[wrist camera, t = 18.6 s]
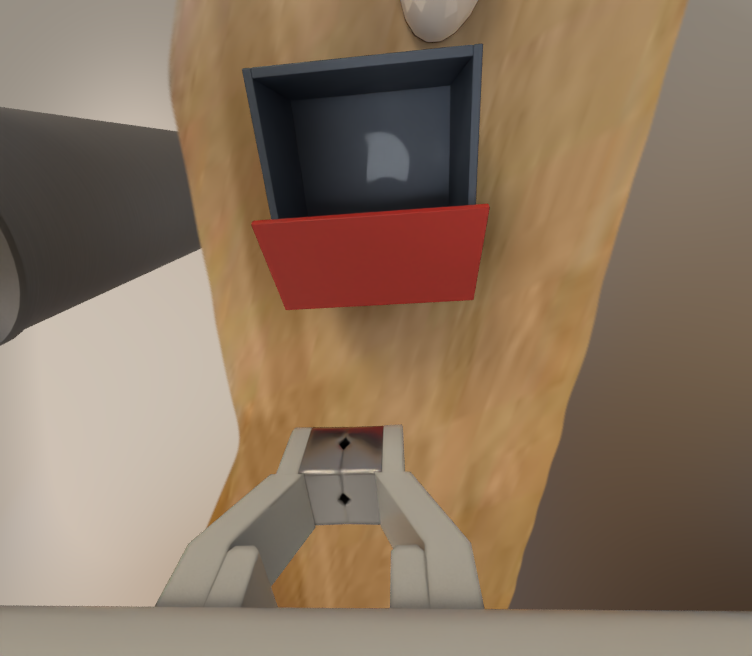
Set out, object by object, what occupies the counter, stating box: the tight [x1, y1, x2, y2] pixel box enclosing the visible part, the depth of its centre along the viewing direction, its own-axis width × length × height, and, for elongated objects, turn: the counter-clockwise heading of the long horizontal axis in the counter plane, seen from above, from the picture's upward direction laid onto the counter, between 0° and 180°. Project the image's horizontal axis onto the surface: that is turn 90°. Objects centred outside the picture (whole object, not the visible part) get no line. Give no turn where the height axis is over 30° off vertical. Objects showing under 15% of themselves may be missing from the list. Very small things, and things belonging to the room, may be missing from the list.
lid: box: [251, 204, 490, 310], centre depth 21 cm, size 7×13×1 cm, turn 94°
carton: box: [242, 44, 483, 220], centre depth 25 cm, size 14×13×8 cm
